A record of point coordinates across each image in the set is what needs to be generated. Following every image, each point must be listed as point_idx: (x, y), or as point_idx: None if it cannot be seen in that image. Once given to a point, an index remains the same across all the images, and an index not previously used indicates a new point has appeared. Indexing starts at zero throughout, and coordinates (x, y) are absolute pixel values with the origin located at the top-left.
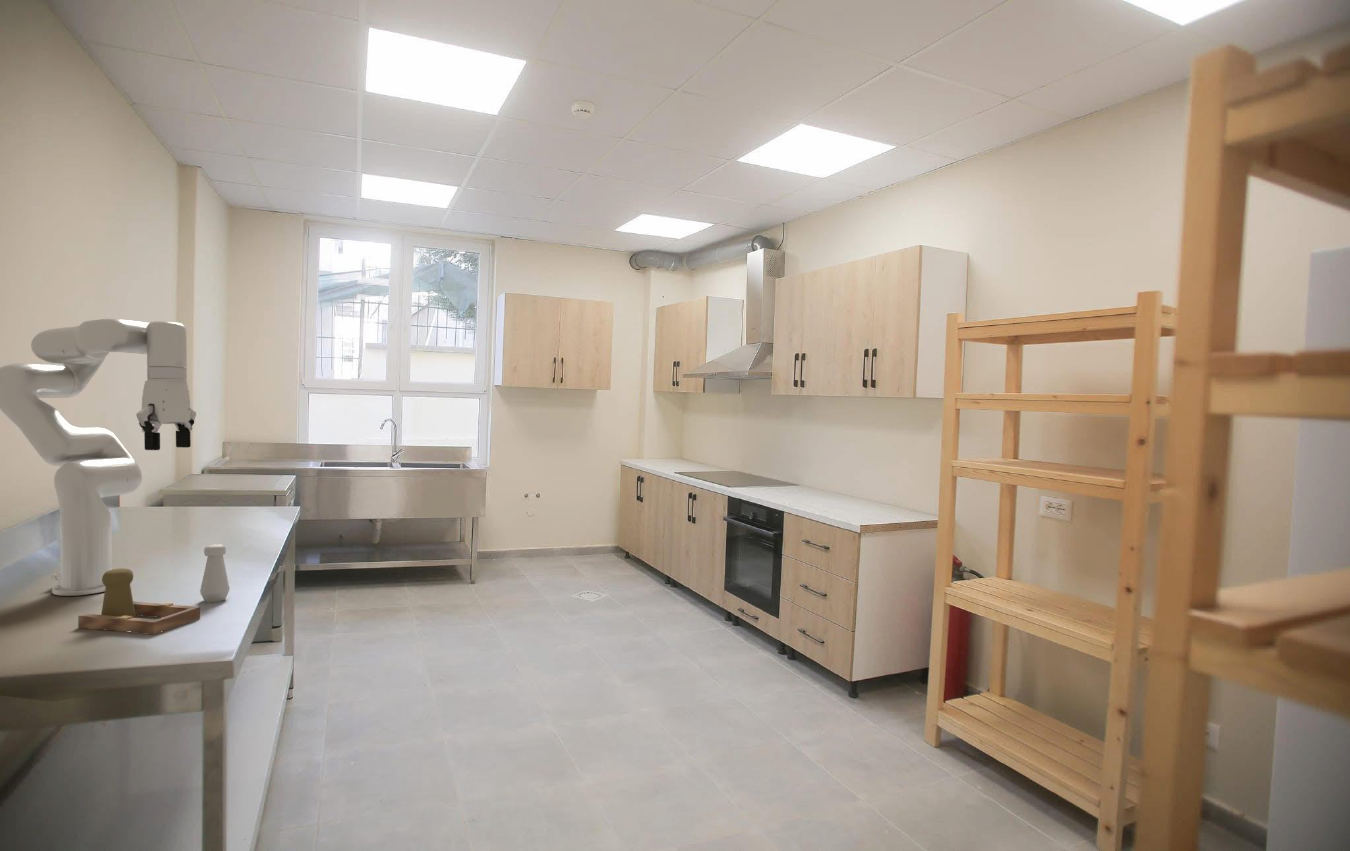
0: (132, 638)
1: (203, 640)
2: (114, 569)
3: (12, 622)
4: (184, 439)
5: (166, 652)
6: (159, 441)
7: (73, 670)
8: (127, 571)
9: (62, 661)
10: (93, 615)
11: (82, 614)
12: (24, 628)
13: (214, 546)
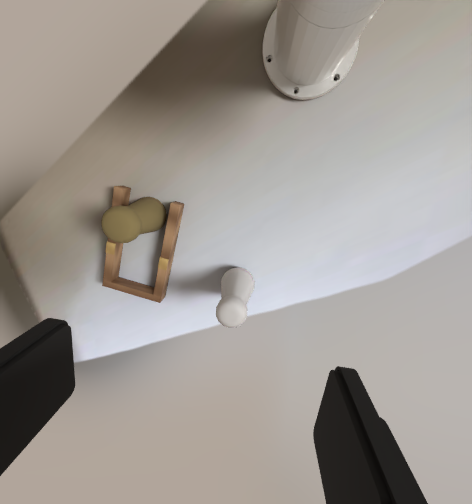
0: (98, 265)
1: (101, 329)
2: (113, 222)
3: (133, 80)
4: (332, 472)
5: (69, 314)
6: (23, 438)
7: (18, 266)
8: (116, 241)
9: (33, 242)
10: (117, 204)
11: (118, 188)
12: (113, 119)
13: (221, 319)
